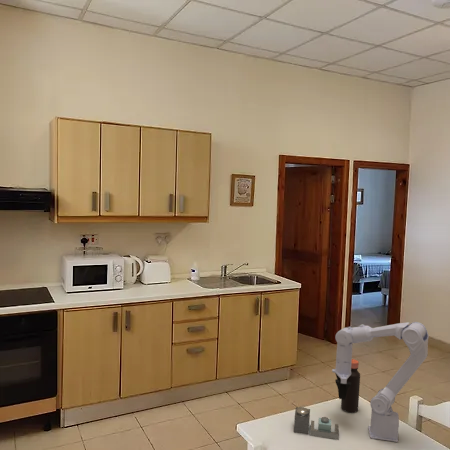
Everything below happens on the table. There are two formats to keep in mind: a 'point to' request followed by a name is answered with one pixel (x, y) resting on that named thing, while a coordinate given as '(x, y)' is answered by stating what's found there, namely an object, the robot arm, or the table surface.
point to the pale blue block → (324, 424)
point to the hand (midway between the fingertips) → (341, 394)
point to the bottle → (352, 390)
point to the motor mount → (303, 425)
